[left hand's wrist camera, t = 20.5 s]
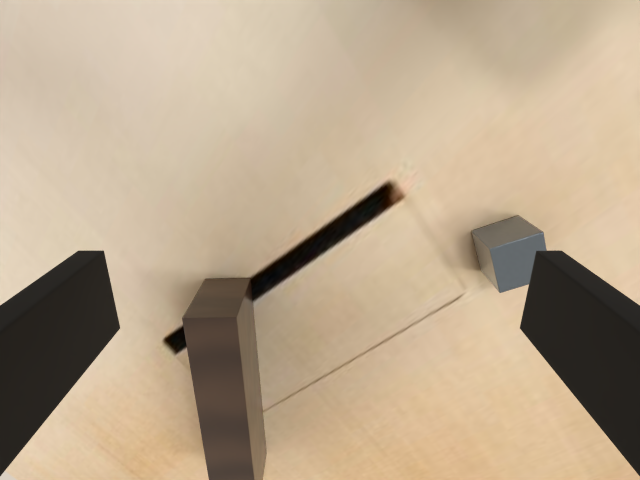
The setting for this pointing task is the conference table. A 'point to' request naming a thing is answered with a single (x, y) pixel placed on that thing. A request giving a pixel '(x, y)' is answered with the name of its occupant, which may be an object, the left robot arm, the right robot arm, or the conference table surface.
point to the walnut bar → (227, 378)
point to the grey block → (508, 251)
